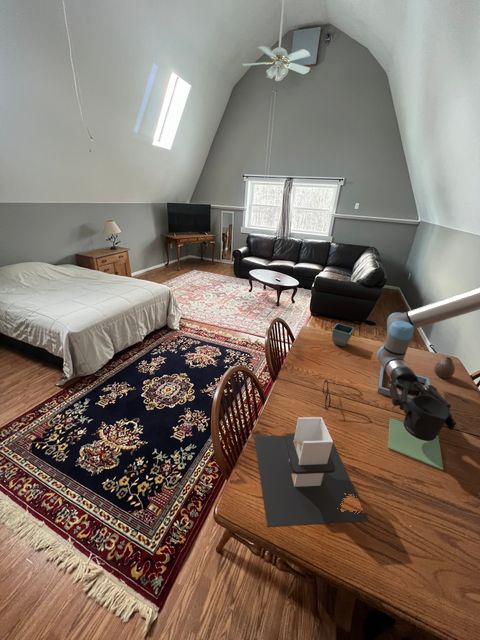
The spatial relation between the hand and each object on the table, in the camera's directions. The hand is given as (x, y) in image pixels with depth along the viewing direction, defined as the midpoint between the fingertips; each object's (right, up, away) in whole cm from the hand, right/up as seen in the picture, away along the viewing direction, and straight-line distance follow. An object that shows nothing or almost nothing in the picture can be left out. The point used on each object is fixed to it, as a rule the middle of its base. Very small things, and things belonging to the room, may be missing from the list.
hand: (435, 424), depth 75 cm
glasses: (-16, -2, +24) cm, 29 cm away
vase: (+34, +5, +43) cm, 55 cm away
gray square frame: (+12, +2, +34) cm, 36 cm away
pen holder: (0, -5, +7) cm, 9 cm away
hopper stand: (-37, -13, -1) cm, 39 cm away
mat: (0, -9, +9) cm, 13 cm away
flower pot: (-3, +17, +65) cm, 67 cm away
